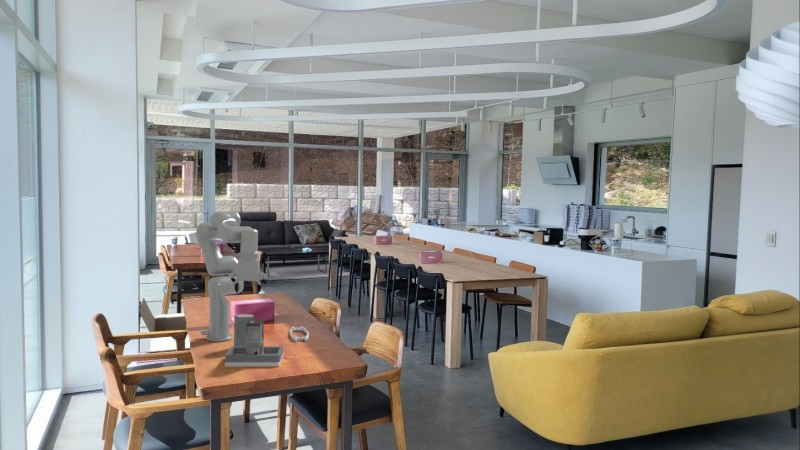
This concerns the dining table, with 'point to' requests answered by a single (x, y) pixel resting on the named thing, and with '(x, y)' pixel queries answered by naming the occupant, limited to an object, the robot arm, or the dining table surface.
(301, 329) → the grey bumpy ring
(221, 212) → the robot arm
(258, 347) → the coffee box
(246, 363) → the grey tray
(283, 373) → the dining table surface
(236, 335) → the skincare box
